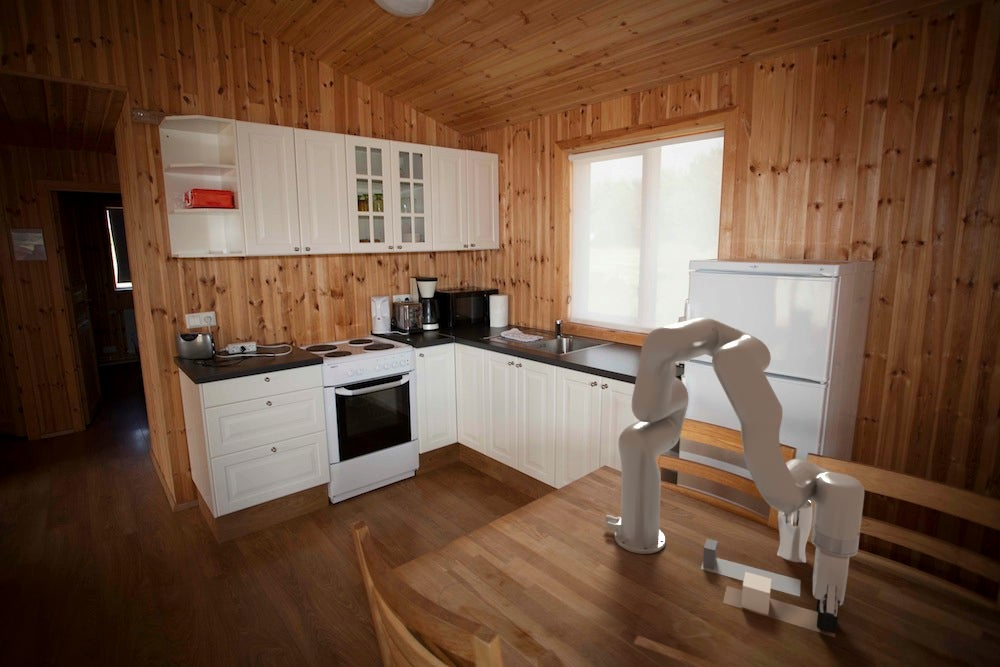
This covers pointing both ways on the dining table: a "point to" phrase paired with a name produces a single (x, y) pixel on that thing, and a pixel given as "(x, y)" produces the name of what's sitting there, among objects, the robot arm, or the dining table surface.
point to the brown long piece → (780, 611)
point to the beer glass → (794, 533)
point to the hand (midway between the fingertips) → (825, 621)
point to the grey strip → (745, 570)
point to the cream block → (756, 593)
